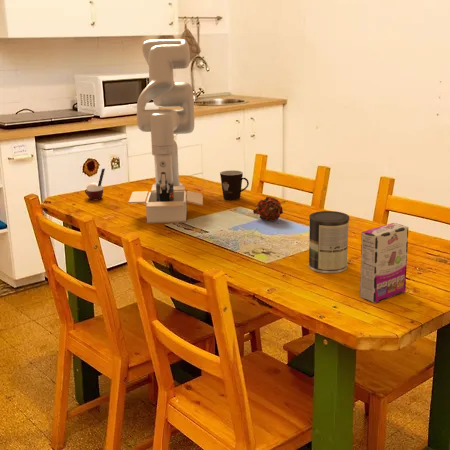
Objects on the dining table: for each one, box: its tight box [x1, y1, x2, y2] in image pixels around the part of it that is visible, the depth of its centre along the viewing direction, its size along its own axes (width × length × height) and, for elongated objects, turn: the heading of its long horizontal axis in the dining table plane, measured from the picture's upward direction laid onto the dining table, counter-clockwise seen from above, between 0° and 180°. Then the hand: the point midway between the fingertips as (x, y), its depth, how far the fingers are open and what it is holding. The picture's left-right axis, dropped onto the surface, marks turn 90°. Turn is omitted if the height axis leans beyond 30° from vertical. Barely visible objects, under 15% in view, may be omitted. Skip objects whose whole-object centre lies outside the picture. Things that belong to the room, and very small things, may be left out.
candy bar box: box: [359, 222, 409, 304], centre depth 149 cm, size 11×5×16 cm, turn 126°
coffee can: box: [308, 210, 350, 274], centre depth 168 cm, size 10×10×14 cm
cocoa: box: [84, 168, 106, 200], centre depth 245 cm, size 10×6×12 cm, turn 43°
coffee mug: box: [219, 169, 250, 202], centre depth 241 cm, size 12×9×10 cm
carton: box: [128, 185, 188, 224], centre depth 219 cm, size 28×19×7 cm
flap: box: [186, 190, 204, 207], centre depth 219 cm, size 15×1×6 cm
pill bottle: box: [155, 176, 174, 202], centre depth 218 cm, size 6×6×11 cm
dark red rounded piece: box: [252, 196, 284, 222], centre depth 214 cm, size 8×8×12 cm
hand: (165, 201), depth 219 cm, fingers closed on pill bottle, 5 cm apart
